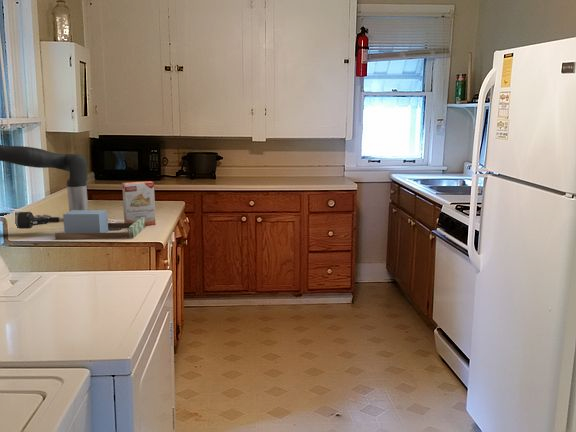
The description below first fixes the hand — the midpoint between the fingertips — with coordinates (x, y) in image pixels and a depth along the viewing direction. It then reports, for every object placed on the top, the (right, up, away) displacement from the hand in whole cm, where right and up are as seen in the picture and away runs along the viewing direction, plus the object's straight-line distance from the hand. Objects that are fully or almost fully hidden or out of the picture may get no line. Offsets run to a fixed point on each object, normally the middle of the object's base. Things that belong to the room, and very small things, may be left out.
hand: (59, 219), depth 250 cm
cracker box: (+32, -3, +19) cm, 37 cm away
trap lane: (+19, -6, +2) cm, 20 cm away
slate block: (+12, -6, +2) cm, 14 cm away
